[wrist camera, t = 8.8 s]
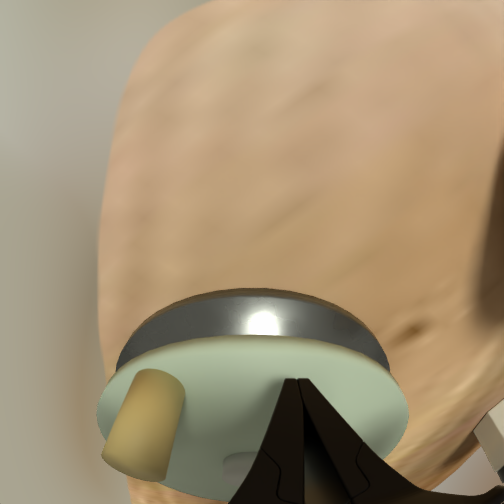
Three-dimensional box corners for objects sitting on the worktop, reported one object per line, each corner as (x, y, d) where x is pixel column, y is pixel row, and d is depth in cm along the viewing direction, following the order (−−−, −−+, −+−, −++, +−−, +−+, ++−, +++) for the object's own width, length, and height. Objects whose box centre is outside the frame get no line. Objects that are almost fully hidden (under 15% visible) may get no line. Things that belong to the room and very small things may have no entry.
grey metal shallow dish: (342, 457, 22) (348, 483, 18) (147, 449, 21) (139, 475, 18) (423, 293, 15) (452, 322, 11) (94, 272, 14) (63, 301, 11)
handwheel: (448, 321, 11) (508, 391, 6) (354, 482, 18) (363, 527, 12) (59, 316, 11) (-4, 387, 6) (147, 480, 18) (136, 525, 12)
